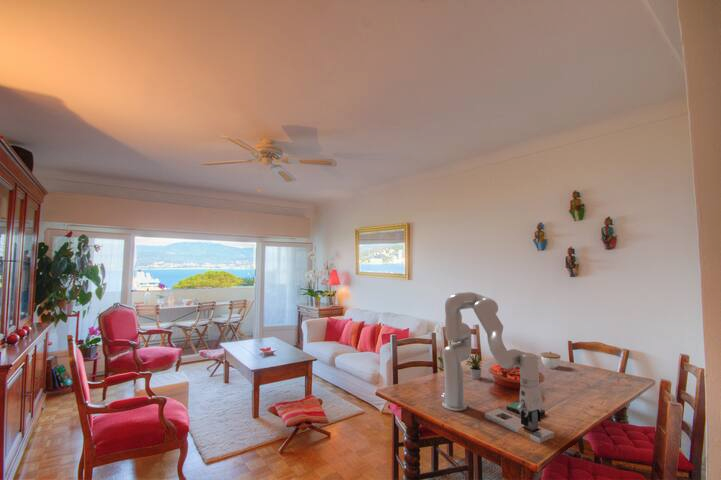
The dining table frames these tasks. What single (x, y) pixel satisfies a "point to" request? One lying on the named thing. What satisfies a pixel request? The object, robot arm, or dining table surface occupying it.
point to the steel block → (532, 421)
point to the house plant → (475, 367)
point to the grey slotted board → (518, 425)
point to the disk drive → (513, 408)
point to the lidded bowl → (550, 360)
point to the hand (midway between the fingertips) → (531, 422)
